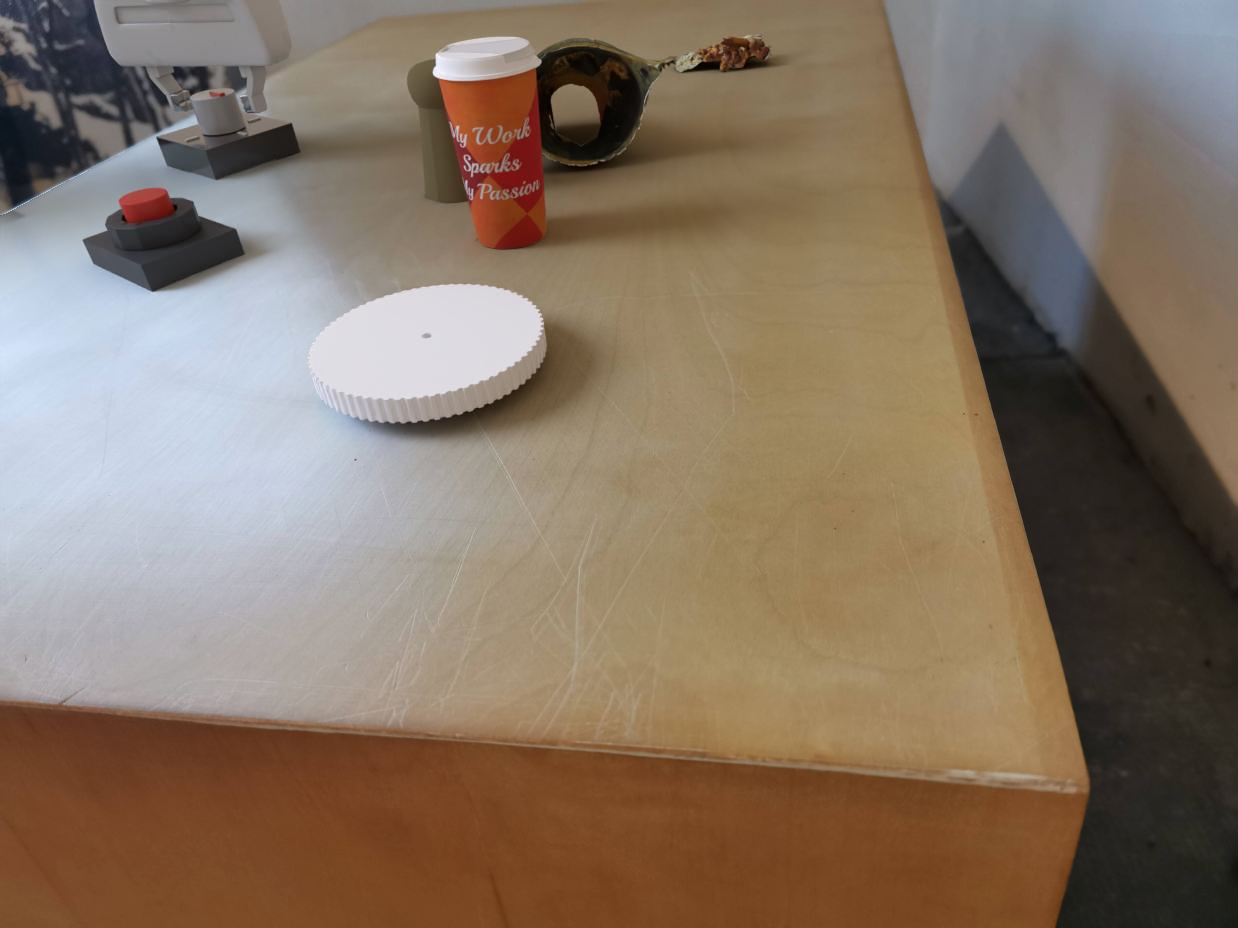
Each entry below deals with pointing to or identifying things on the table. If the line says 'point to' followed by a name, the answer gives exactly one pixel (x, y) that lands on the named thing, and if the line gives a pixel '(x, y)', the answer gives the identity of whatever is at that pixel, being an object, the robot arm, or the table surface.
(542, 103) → the olive metal hollow piece
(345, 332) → the plastic lid
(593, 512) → the table surface
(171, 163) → the panel
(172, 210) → the button
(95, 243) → the box
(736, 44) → the pastry
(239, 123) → the burner knob
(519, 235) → the paper cup
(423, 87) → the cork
